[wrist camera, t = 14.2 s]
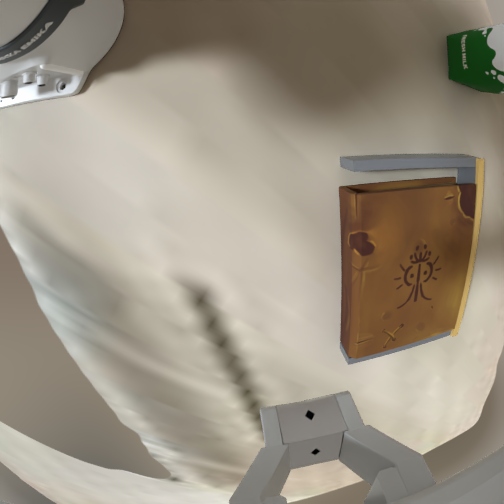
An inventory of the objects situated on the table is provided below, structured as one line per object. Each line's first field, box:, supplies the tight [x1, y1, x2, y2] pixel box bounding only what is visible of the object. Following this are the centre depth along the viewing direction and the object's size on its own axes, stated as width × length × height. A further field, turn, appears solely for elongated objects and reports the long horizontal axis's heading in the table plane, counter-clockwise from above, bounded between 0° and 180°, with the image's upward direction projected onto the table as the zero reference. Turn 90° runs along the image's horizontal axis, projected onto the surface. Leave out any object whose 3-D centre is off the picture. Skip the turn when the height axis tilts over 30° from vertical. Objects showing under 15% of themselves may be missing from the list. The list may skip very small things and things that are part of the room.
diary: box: [339, 177, 476, 359], centre depth 39 cm, size 23×19×6 cm
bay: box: [340, 154, 484, 365], centre depth 39 cm, size 20×28×5 cm
